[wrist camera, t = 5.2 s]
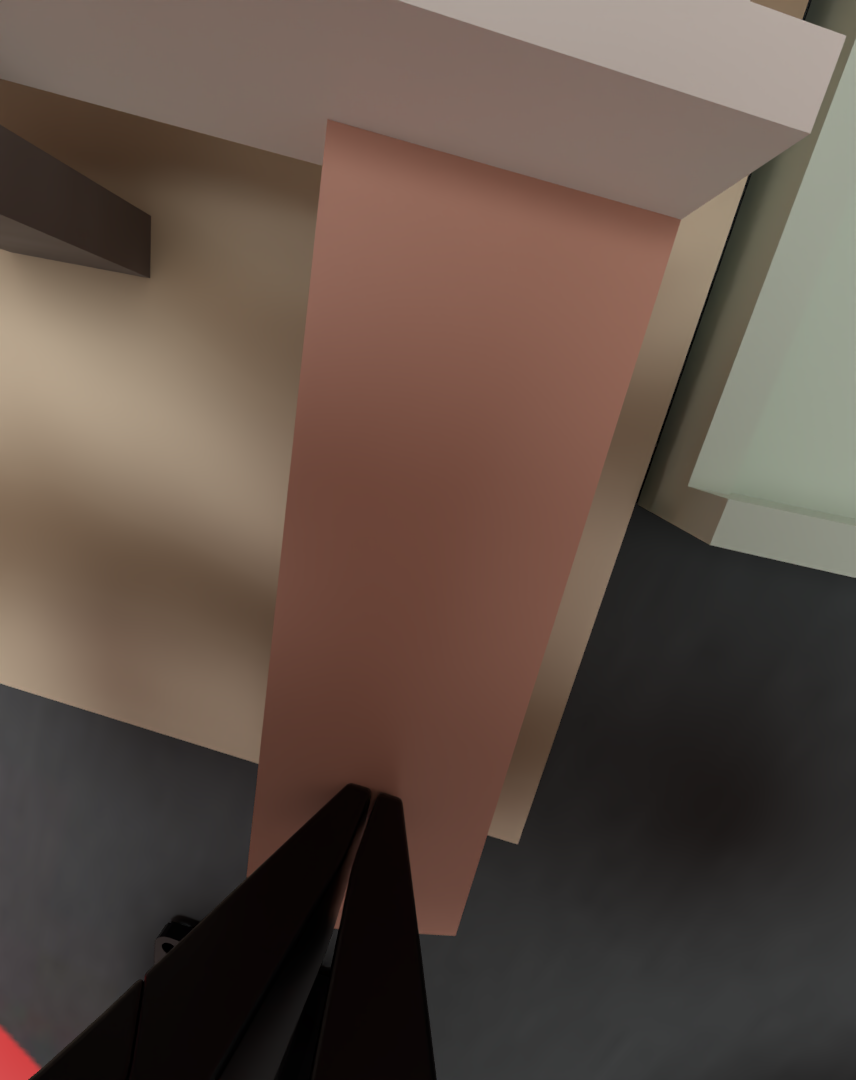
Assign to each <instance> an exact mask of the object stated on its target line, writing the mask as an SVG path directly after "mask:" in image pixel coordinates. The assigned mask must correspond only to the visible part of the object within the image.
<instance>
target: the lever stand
mask: <svg viewBox="0 0 856 1080" xmlns="http://www.w3.org/2000/svg"><path fill="white" fill-rule="evenodd" d="M750 1H751V2H754V3H756V4H759V5H762V6H765V7H768V8H770V9H773V10H776V11H779V12H782V13H784V14H787V15H790V16H793V17H795V18H798V19H801V20H802V19H803V16H804V13H805V10H806V7H807V4H808V1H809V0H750ZM321 174H322V166H321V165H318V164H314V163H310V162H307V161H303V160H299V159H295V158H292V157H288V156H284V155H281V154H277V153H273V152H270V151H266V150H262V149H258V148H255V147H251V146H247V145H244V144H240V143H236V142H233V141H229V140H225V139H222V138H218V137H214V136H210V135H207V134H203V133H199V132H196V131H192V130H188V129H185V128H181V127H177V126H174V125H170V124H166V123H162V122H159V121H155V120H151V119H148V118H144V117H140V116H137V115H133V114H129V113H126V112H122V111H118V110H114V109H111V108H107V107H103V106H100V105H96V104H92V103H89V102H85V101H81V100H78V99H74V98H70V97H66V96H63V95H59V94H55V93H52V92H48V91H44V90H41V89H37V88H33V87H29V86H26V85H22V84H18V83H15V82H11V81H7V80H4V79H0V684H4V685H7V686H10V687H13V688H16V689H20V690H23V691H26V692H29V693H33V694H36V695H39V696H42V697H45V698H49V699H52V700H55V701H58V702H61V703H65V704H68V705H71V706H74V707H78V708H81V709H84V710H87V711H90V712H94V713H97V714H100V715H103V716H106V717H110V718H113V719H116V720H119V721H123V722H126V723H129V724H132V725H135V726H139V727H142V728H145V729H148V730H151V731H155V732H158V733H161V734H164V735H167V736H171V737H174V738H177V739H180V740H184V741H187V742H190V743H193V744H196V745H200V746H203V747H206V748H209V749H212V750H216V751H219V752H222V753H225V754H229V755H232V756H235V757H238V758H241V759H245V760H248V761H251V762H254V763H257V764H259V755H260V746H261V737H262V727H263V718H264V709H265V699H266V690H267V680H268V671H269V662H270V652H271V643H272V634H273V624H274V615H275V606H276V596H277V587H278V577H279V568H280V559H281V549H282V540H283V531H284V521H285V512H286V502H287V493H288V484H289V474H290V465H291V456H292V446H293V437H294V427H295V418H296V409H297V399H298V390H299V381H300V371H301V362H302V352H303V343H304V334H305V324H306V315H307V306H308V296H309V287H310V277H311V268H312V259H313V249H314V240H315V231H316V221H317V212H318V202H319V193H320V184H321ZM747 178H748V175H747V176H746V177H744V178H743V179H741V180H740V181H738V182H737V183H735V184H734V185H732V186H731V187H729V188H728V189H726V190H725V191H723V192H722V193H720V194H719V195H717V196H716V197H714V198H713V199H711V200H710V201H708V202H707V203H705V204H704V205H702V206H701V207H699V208H698V209H696V210H695V211H693V212H692V213H690V214H689V215H687V216H686V217H684V218H683V219H681V222H680V225H679V228H678V231H677V234H676V238H675V241H674V244H673V247H672V250H671V253H670V257H669V260H668V263H667V266H666V269H665V272H664V276H663V279H662V282H661V285H660V288H659V291H658V295H657V298H656V301H655V304H654V307H653V311H652V314H651V317H650V320H649V323H648V326H647V330H646V333H645V336H644V339H643V342H642V345H641V349H640V352H639V355H638V358H637V361H636V364H635V368H634V371H633V374H632V377H631V380H630V384H629V387H628V390H627V393H626V396H625V399H624V403H623V406H622V409H621V412H620V415H619V418H618V422H617V425H616V428H615V431H614V434H613V438H612V441H611V444H610V447H609V450H608V453H607V457H606V460H605V463H604V466H603V469H602V472H601V476H600V479H599V482H598V485H597V488H596V491H595V495H594V498H593V501H592V504H591V507H590V511H589V514H588V517H587V520H586V523H585V526H584V530H583V533H582V536H581V539H580V542H579V545H578V549H577V552H576V555H575V558H574V561H573V564H572V568H571V571H570V574H569V577H568V580H567V584H566V587H565V590H564V593H563V596H562V599H561V603H560V606H559V609H558V612H557V615H556V618H555V622H554V625H553V628H552V631H551V634H550V638H549V641H548V644H547V647H546V650H545V653H544V657H543V660H542V663H541V666H540V669H539V672H538V676H537V679H536V682H535V685H534V688H533V691H532V695H531V698H530V701H529V704H528V707H527V711H526V714H525V717H524V720H523V723H522V726H521V730H520V733H519V736H518V739H517V742H516V745H515V749H514V752H513V755H512V758H511V761H510V764H509V768H508V771H507V774H506V777H505V780H504V784H503V787H502V790H501V793H500V796H499V799H498V803H497V806H496V809H495V812H494V815H493V818H492V822H491V825H490V828H489V831H488V834H487V835H489V836H492V837H495V838H498V839H502V840H505V841H508V842H511V843H514V844H518V842H519V840H520V837H521V834H522V831H523V828H524V825H525V822H526V819H527V816H528V813H529V810H530V808H531V805H532V802H533V799H534V796H535V793H536V790H537V787H538V784H539V781H540V779H541V776H542V773H543V770H544V767H545V764H546V761H547V758H548V755H549V752H550V750H551V747H552V744H553V741H554V738H555V735H556V732H557V729H558V726H559V723H560V721H561V718H562V715H563V712H564V709H565V706H566V703H567V700H568V697H569V694H570V692H571V689H572V686H573V683H574V680H575V677H576V674H577V671H578V668H579V665H580V663H581V660H582V657H583V654H584V651H585V648H586V645H587V642H588V639H589V636H590V634H591V631H592V628H593V625H594V622H595V619H596V616H597V613H598V610H599V607H600V605H601V602H602V599H603V596H604V593H605V590H606V587H607V584H608V581H609V578H610V576H611V573H612V570H613V567H614V564H615V561H616V558H617V555H618V552H619V549H620V547H621V544H622V541H623V538H624V535H625V532H626V529H627V526H628V523H629V520H630V518H631V515H632V512H633V509H634V506H635V503H636V500H637V497H638V494H639V491H640V489H641V486H642V483H643V480H644V477H645V474H646V471H647V468H648V465H649V462H650V460H651V457H652V454H653V451H654V448H655V445H656V442H657V439H658V436H659V433H660V431H661V428H662V425H663V422H664V419H665V416H666V413H667V410H668V407H669V404H670V402H671V399H672V396H673V393H674V390H675V387H676V384H677V381H678V378H679V375H680V373H681V370H682V367H683V364H684V361H685V358H686V355H687V352H688V349H689V346H690V344H691V341H692V338H693V335H694V332H695V329H696V326H697V323H698V320H699V317H700V315H701V312H702V309H703V306H704V303H705V300H706V297H707V294H708V291H709V288H710V286H711V283H712V280H713V277H714V274H715V271H716V268H717V265H718V262H719V259H720V257H721V254H722V251H723V248H724V245H725V242H726V239H727V236H728V233H729V230H730V228H731V225H732V222H733V219H734V216H735V213H736V210H737V207H738V204H739V201H740V198H741V196H742V193H743V190H744V187H745V184H746V181H747Z"/></svg>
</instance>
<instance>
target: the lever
mask: <svg viewBox="0 0 856 1080" xmlns="http://www.w3.org/2000/svg"><path fill="white" fill-rule="evenodd" d="M845 39H846V35H843V34H840V33H837V32H835V31H832V30H829V29H826V28H823V27H821V26H818V25H815V24H812V23H809V22H807V21H804V20H801V19H798V18H795V17H793V16H790V15H787V14H784V13H782V12H779V11H776V10H773V9H770V8H768V7H765V6H762V5H759V4H756V3H754V2H751V1H750V0H0V79H4V80H7V81H11V82H15V83H18V84H22V85H26V86H29V87H33V88H37V89H41V90H44V91H48V92H52V93H55V94H59V95H63V96H66V97H70V98H74V99H78V100H81V101H85V102H89V103H92V104H96V105H100V106H103V107H107V108H111V109H114V110H118V111H122V112H126V113H129V114H133V115H137V116H140V117H144V118H148V119H151V120H155V121H159V122H162V123H166V124H170V125H174V126H177V127H181V128H185V129H188V130H192V131H196V132H199V133H203V134H207V135H210V136H214V137H218V138H222V139H225V140H229V141H233V142H236V143H240V144H244V145H247V146H251V147H255V148H258V149H262V150H266V151H270V152H273V153H277V154H281V155H284V156H288V157H292V158H295V159H299V160H303V161H307V162H310V163H314V164H318V165H321V166H322V174H321V184H320V193H319V202H318V212H317V221H316V231H315V240H314V249H313V259H312V268H311V277H310V287H309V296H308V306H307V315H306V324H305V334H304V343H303V352H302V362H301V371H300V381H299V390H298V399H297V409H296V418H295V427H294V437H293V446H292V456H291V465H290V474H289V484H288V493H287V502H286V512H285V521H284V531H283V540H282V549H281V559H280V568H279V577H278V587H277V596H276V606H275V615H274V624H273V634H272V643H271V652H270V662H269V671H268V680H267V690H266V699H265V709H264V718H263V727H262V737H261V746H260V755H259V765H258V774H257V784H256V793H255V802H254V812H253V821H252V830H251V840H250V849H249V859H248V868H247V877H246V879H247V878H248V877H249V876H250V875H251V874H252V873H253V872H254V871H255V870H256V869H257V868H258V867H259V866H260V865H261V864H262V863H264V862H265V861H266V860H267V859H268V858H269V857H270V856H271V855H272V854H273V853H274V852H275V851H276V850H277V849H278V848H279V847H281V846H282V845H283V844H284V843H285V842H286V841H287V840H288V839H289V838H290V837H291V836H292V835H293V834H294V833H295V832H296V831H298V830H299V829H300V828H301V827H302V826H303V825H304V824H305V823H306V822H307V821H308V820H309V819H310V818H311V817H312V816H313V815H315V814H316V813H317V812H318V811H319V810H320V809H321V808H322V807H323V806H324V805H325V804H326V803H327V802H328V801H329V800H330V799H332V798H333V797H334V796H335V795H336V794H337V793H338V792H339V791H340V790H341V789H342V788H343V787H344V786H346V785H347V784H349V783H353V784H357V785H360V786H363V787H367V788H369V789H370V790H371V799H370V804H369V808H368V813H367V818H366V823H365V828H366V825H367V822H368V819H369V817H370V814H371V811H372V809H373V806H374V803H375V800H376V798H377V796H378V794H379V793H381V792H382V793H386V794H389V795H393V796H396V797H399V798H400V799H401V800H402V802H403V809H404V817H405V825H406V833H407V842H408V850H409V858H410V866H411V874H412V882H413V891H414V899H415V907H416V915H417V923H418V931H419V934H431V935H448V936H456V933H457V930H458V926H459V923H460V920H461V917H462V914H463V911H464V907H465V904H466V901H467V898H468V895H469V891H470V888H471V885H472V882H473V879H474V876H475V872H476V869H477V866H478V863H479V860H480V857H481V853H482V850H483V847H484V844H485V841H486V837H487V834H488V831H489V828H490V825H491V822H492V818H493V815H494V812H495V809H496V806H497V803H498V799H499V796H500V793H501V790H502V787H503V784H504V780H505V777H506V774H507V771H508V768H509V764H510V761H511V758H512V755H513V752H514V749H515V745H516V742H517V739H518V736H519V733H520V730H521V726H522V723H523V720H524V717H525V714H526V711H527V707H528V704H529V701H530V698H531V695H532V691H533V688H534V685H535V682H536V679H537V676H538V672H539V669H540V666H541V663H542V660H543V657H544V653H545V650H546V647H547V644H548V641H549V638H550V634H551V631H552V628H553V625H554V622H555V618H556V615H557V612H558V609H559V606H560V603H561V599H562V596H563V593H564V590H565V587H566V584H567V580H568V577H569V574H570V571H571V568H572V564H573V561H574V558H575V555H576V552H577V549H578V545H579V542H580V539H581V536H582V533H583V530H584V526H585V523H586V520H587V517H588V514H589V511H590V507H591V504H592V501H593V498H594V495H595V491H596V488H597V485H598V482H599V479H600V476H601V472H602V469H603V466H604V463H605V460H606V457H607V453H608V450H609V447H610V444H611V441H612V438H613V434H614V431H615V428H616V425H617V422H618V418H619V415H620V412H621V409H622V406H623V403H624V399H625V396H626V393H627V390H628V387H629V384H630V380H631V377H632V374H633V371H634V368H635V364H636V361H637V358H638V355H639V352H640V349H641V345H642V342H643V339H644V336H645V333H646V330H647V326H648V323H649V320H650V317H651V314H652V311H653V307H654V304H655V301H656V298H657V295H658V291H659V288H660V285H661V282H662V279H663V276H664V272H665V269H666V266H667V263H668V260H669V257H670V253H671V250H672V247H673V244H674V241H675V238H676V234H677V231H678V228H679V225H680V222H681V219H683V218H684V217H686V216H687V215H689V214H690V213H692V212H693V211H695V210H696V209H698V208H699V207H701V206H702V205H704V204H705V203H707V202H708V201H710V200H711V199H713V198H714V197H716V196H717V195H719V194H720V193H722V192H723V191H725V190H726V189H728V188H729V187H731V186H732V185H734V184H735V183H737V182H738V181H740V180H741V179H743V178H744V177H746V176H747V175H749V174H750V173H752V172H753V171H755V170H756V169H758V168H759V167H761V166H762V165H764V164H765V163H767V162H768V161H770V160H771V159H773V158H774V157H776V156H778V155H779V154H781V153H782V152H784V151H785V150H787V149H788V148H790V147H791V146H793V145H794V144H796V143H797V142H799V141H800V140H802V139H803V138H805V137H806V136H808V135H809V134H810V133H811V131H812V128H813V125H814V123H815V120H816V117H817V114H818V112H819V109H820V106H821V104H822V101H823V98H824V96H825V93H826V90H827V88H828V85H829V82H830V79H831V77H832V74H833V71H834V69H835V66H836V63H837V61H838V58H839V55H840V52H841V50H842V47H843V44H844V42H845ZM365 828H364V830H365ZM363 833H364V832H363ZM347 886H348V884H347ZM346 891H347V888H346ZM346 891H345V894H344V897H343V901H342V904H341V907H340V910H339V913H338V917H337V920H336V923H335V926H334V929H339V926H340V921H341V916H342V911H343V906H344V901H345V896H346Z"/></svg>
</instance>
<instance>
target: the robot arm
mask: <svg viewBox="0 0 856 1080" xmlns="http://www.w3.org/2000/svg"><path fill="white" fill-rule="evenodd" d="M370 799H371V790H370V789H369V788H367V787H363V786H360V785H357V784H353V783H349V784H347V785H346V786H344V787H343V788H342V789H341V790H340V791H339V792H338V793H337V794H336V795H335V796H334V797H333V798H332V799H330V800H329V801H328V802H327V803H326V804H325V805H324V806H323V807H322V808H321V809H320V810H319V811H318V812H317V813H316V814H315V815H313V816H312V817H311V818H310V819H309V820H308V821H307V822H306V823H305V824H304V825H303V826H302V827H301V828H300V829H299V830H298V831H296V832H295V833H294V834H293V835H292V836H291V837H290V838H289V839H288V840H287V841H286V842H285V843H284V844H283V845H282V846H281V847H279V848H278V849H277V850H276V851H275V852H274V853H273V854H272V855H271V856H270V857H269V858H268V859H267V860H266V861H265V862H264V863H262V864H261V865H260V866H259V867H258V868H257V869H256V870H255V871H254V872H253V873H252V874H251V875H250V876H249V877H248V878H247V879H245V880H244V881H243V882H242V883H241V884H240V885H239V886H238V887H237V888H236V889H235V890H234V891H233V892H232V893H231V894H230V895H228V896H227V897H226V898H225V899H224V900H223V901H222V902H221V903H220V904H219V905H218V906H217V907H216V908H215V909H214V910H213V911H211V912H210V913H209V914H208V915H207V916H206V917H205V918H204V919H203V920H202V921H201V922H200V923H199V924H198V925H197V926H196V927H194V928H191V927H188V926H185V925H182V924H180V923H175V922H171V923H168V924H167V925H165V927H164V928H163V930H162V931H161V933H160V934H159V936H158V937H157V939H156V941H155V951H154V966H153V967H152V968H151V969H150V970H149V971H148V972H147V973H146V975H145V978H144V982H143V980H138V981H137V982H136V983H135V984H133V985H132V986H131V987H130V988H129V989H128V990H127V991H126V992H125V993H124V994H123V995H122V996H121V997H120V998H119V999H118V1000H117V1001H115V1002H114V1003H113V1004H112V1005H111V1006H110V1007H109V1008H108V1009H107V1010H106V1011H105V1012H104V1013H103V1014H102V1015H101V1016H99V1017H98V1018H97V1019H96V1020H95V1021H94V1022H93V1023H92V1024H91V1025H89V1026H88V1027H87V1028H86V1029H85V1030H84V1031H83V1032H82V1033H81V1034H79V1035H78V1036H77V1037H76V1038H75V1039H74V1040H73V1041H72V1042H71V1043H70V1044H68V1045H67V1046H66V1047H65V1048H64V1049H63V1050H62V1051H61V1052H60V1053H58V1054H57V1055H56V1056H55V1057H54V1058H53V1059H52V1060H51V1061H50V1062H48V1063H47V1064H46V1065H45V1066H44V1067H43V1068H42V1069H40V1070H39V1071H38V1072H37V1073H36V1074H35V1075H34V1076H32V1077H31V1078H30V1079H29V1080H437V1078H436V1070H435V1062H434V1054H433V1046H432V1037H431V1029H430V1021H429V1013H428V1005H427V997H426V988H425V980H424V972H423V964H422V956H421V948H420V939H419V931H418V923H417V915H416V907H415V899H414V891H413V882H412V874H411V866H410V858H409V850H408V842H407V833H406V825H405V817H404V809H403V802H402V800H401V799H400V798H399V797H396V796H393V795H389V794H386V793H382V792H381V793H379V794H378V796H377V798H376V800H375V803H374V806H373V809H372V811H371V814H370V817H369V819H368V822H367V825H366V828H365V823H366V818H367V813H368V808H369V804H370ZM364 828H365V830H364ZM363 832H364V833H363ZM347 884H348V886H347ZM346 888H347V891H346ZM345 891H346V896H345V901H344V906H343V911H342V916H341V921H340V926H339V931H338V935H337V940H336V945H335V950H334V955H333V960H332V965H331V970H330V975H329V977H326V976H323V975H321V974H318V971H319V969H320V966H321V963H322V961H323V958H324V956H325V953H326V950H327V948H328V945H329V942H330V939H331V936H332V933H333V930H334V926H335V923H336V920H337V917H338V913H339V910H340V907H341V904H342V901H343V897H344V894H345Z"/></svg>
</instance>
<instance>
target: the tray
mask: <svg viewBox="0 0 856 1080" xmlns="http://www.w3.org/2000/svg"><path fill="white" fill-rule="evenodd" d="M805 21H807V22H809V23H812V24H815V25H818V26H821V27H823V28H826V29H829V30H832V31H835V32H837V33H840V34H843V35H846V39H845V42H844V44H843V47H842V50H841V52H840V55H839V58H838V61H837V63H836V66H835V69H834V71H833V74H832V77H831V79H830V82H829V85H828V88H827V90H826V93H825V96H824V98H823V101H822V104H821V106H820V109H819V112H818V114H817V117H816V120H815V123H814V125H813V128H812V131H811V133H810V134H809V135H808V136H806V137H805V138H803V139H802V140H800V141H799V142H797V143H796V144H794V145H793V146H791V147H790V148H788V149H787V150H785V151H784V152H782V153H781V154H779V155H778V156H776V157H774V158H773V159H771V160H770V161H768V162H767V163H765V164H764V165H762V166H761V167H759V168H758V169H756V170H755V171H753V172H752V174H751V177H750V180H749V183H748V186H747V189H746V192H745V194H744V197H743V200H742V203H741V206H740V209H739V212H738V215H737V218H736V220H735V223H734V226H733V229H732V232H731V235H730V238H729V241H728V244H727V246H726V249H725V252H724V255H723V258H722V261H721V264H720V267H719V270H718V272H717V275H716V278H715V281H714V284H713V287H712V290H711V293H710V296H709V298H708V301H707V304H706V307H705V310H704V313H703V316H702V319H701V322H700V324H699V327H698V330H697V333H696V336H695V339H694V342H693V345H692V348H691V350H690V353H689V356H688V359H687V362H686V365H685V368H684V371H683V374H682V376H681V379H680V382H679V385H678V388H677V391H676V394H675V397H674V399H673V402H672V405H671V408H670V411H669V414H668V417H667V420H666V423H665V425H664V428H663V431H662V434H661V437H660V440H659V443H658V446H657V449H656V451H655V454H654V457H653V460H652V463H651V466H650V469H649V472H648V475H647V477H646V480H645V483H644V486H643V489H642V492H641V495H640V498H639V501H638V503H637V505H639V506H641V507H643V508H645V509H646V510H648V511H650V512H652V513H653V514H655V515H657V516H659V517H661V518H662V519H664V520H666V521H668V522H670V523H671V524H673V525H675V526H677V527H678V528H680V529H682V530H684V531H686V532H687V533H689V534H691V535H693V536H695V537H696V538H698V539H700V540H702V541H704V542H705V543H707V544H709V545H712V546H716V547H721V548H725V549H730V550H734V551H739V552H743V553H747V554H752V555H756V556H761V557H765V558H770V559H774V560H778V561H783V562H787V563H792V564H796V565H801V566H805V567H809V568H814V569H818V570H823V571H827V572H832V573H836V574H840V575H845V576H849V577H854V578H856V0H812V1H811V4H810V7H809V10H808V12H807V15H806V18H805Z"/></svg>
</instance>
